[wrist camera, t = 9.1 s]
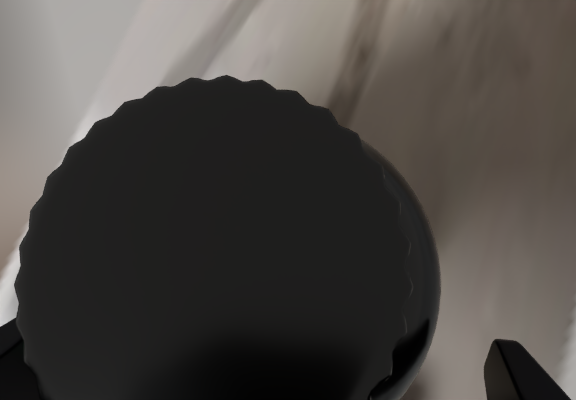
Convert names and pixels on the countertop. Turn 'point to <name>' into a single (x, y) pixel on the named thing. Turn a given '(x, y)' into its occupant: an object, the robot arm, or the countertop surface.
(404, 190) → the supplement bottle
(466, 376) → the countertop surface
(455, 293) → the countertop surface
